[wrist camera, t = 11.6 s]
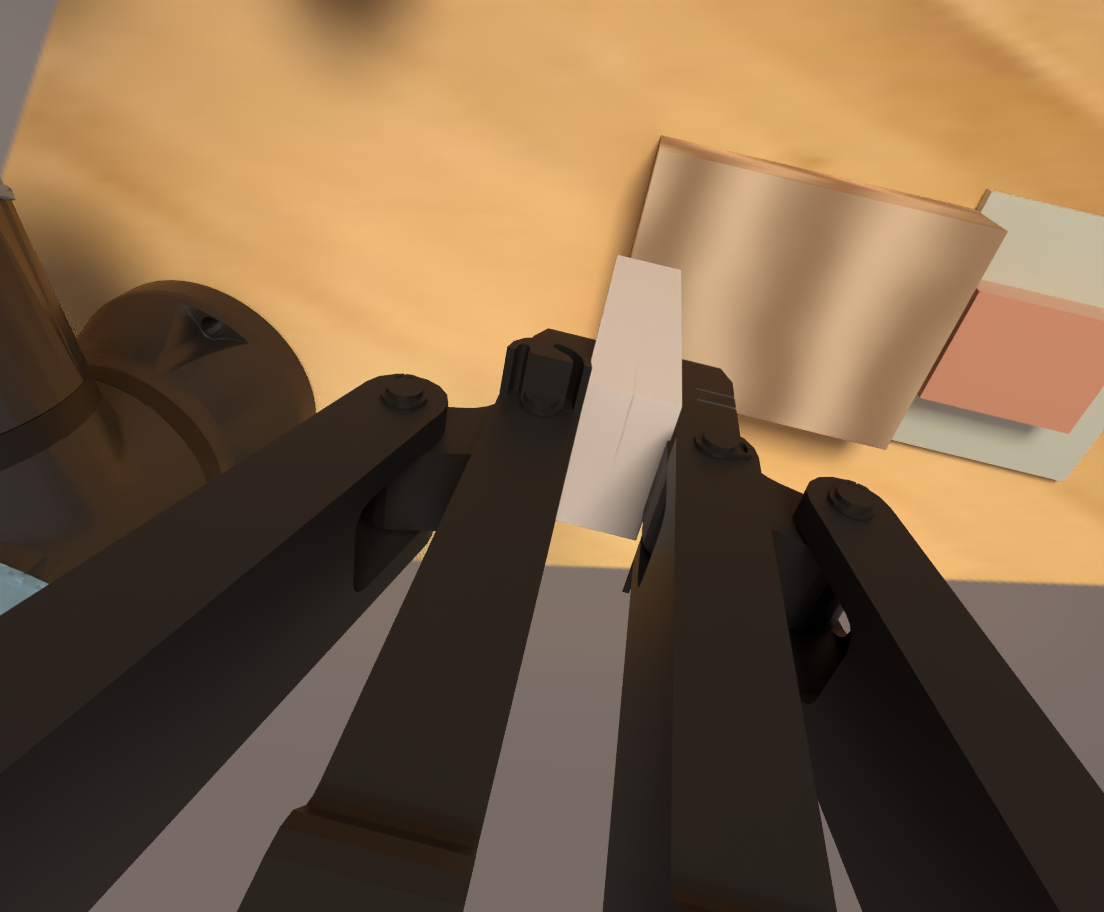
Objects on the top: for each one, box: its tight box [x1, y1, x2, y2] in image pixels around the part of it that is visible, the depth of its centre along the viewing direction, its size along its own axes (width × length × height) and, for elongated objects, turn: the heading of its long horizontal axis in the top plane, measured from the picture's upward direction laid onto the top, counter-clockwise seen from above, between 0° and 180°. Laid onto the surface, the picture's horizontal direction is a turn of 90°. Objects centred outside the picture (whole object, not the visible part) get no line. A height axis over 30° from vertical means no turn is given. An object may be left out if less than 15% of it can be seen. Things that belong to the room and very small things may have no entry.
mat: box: [891, 189, 1104, 482], centre depth 37 cm, size 12×14×1 cm
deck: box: [630, 136, 1008, 450], centre depth 36 cm, size 16×12×4 cm
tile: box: [917, 279, 1104, 434], centre depth 36 cm, size 8×6×2 cm
